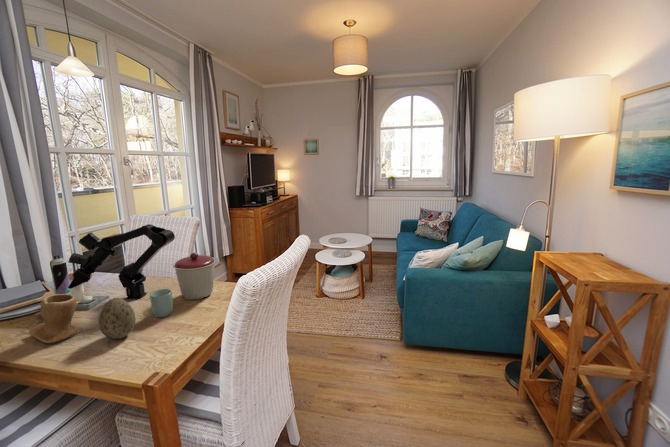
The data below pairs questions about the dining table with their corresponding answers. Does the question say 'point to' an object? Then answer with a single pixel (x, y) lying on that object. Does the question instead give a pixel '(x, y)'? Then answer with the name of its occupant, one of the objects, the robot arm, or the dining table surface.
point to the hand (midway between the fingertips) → (71, 284)
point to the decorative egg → (116, 318)
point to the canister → (195, 276)
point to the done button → (86, 300)
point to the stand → (38, 317)
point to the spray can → (60, 275)
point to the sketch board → (90, 305)
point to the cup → (161, 302)
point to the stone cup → (55, 318)
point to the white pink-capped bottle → (76, 289)
